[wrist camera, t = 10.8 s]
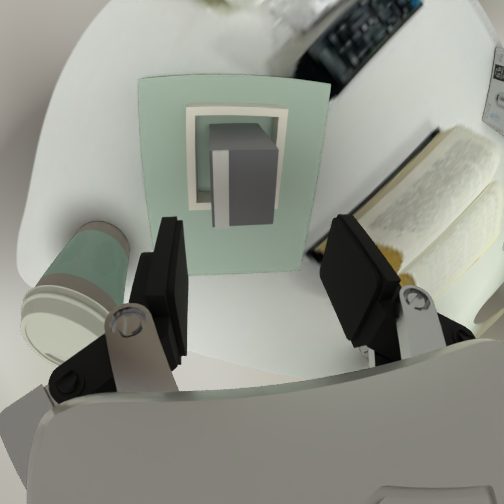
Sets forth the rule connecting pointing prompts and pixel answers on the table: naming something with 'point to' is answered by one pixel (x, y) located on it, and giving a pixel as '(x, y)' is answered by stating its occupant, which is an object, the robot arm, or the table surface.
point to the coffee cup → (76, 293)
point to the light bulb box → (496, 95)
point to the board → (175, 167)
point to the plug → (242, 175)
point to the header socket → (194, 109)
